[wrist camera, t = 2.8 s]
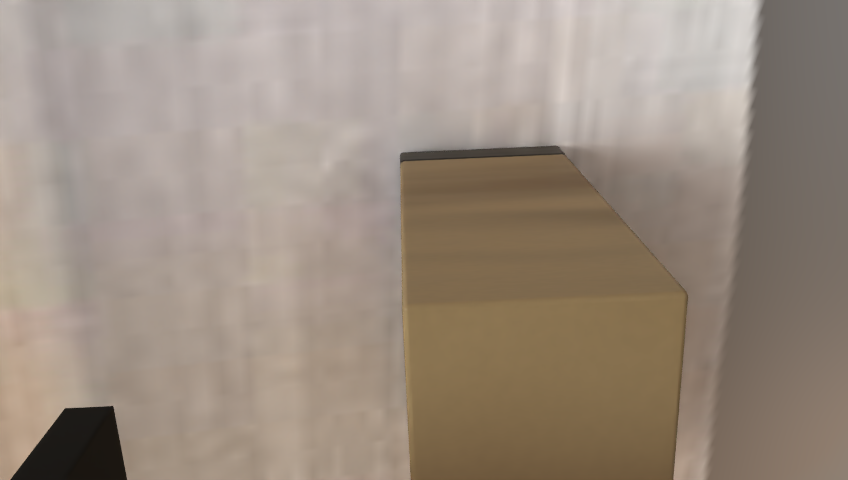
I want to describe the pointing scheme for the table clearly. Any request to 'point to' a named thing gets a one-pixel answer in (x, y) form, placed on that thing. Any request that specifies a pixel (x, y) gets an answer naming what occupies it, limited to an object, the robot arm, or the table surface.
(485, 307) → the tan rectangular block
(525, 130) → the table surface
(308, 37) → the table surface
